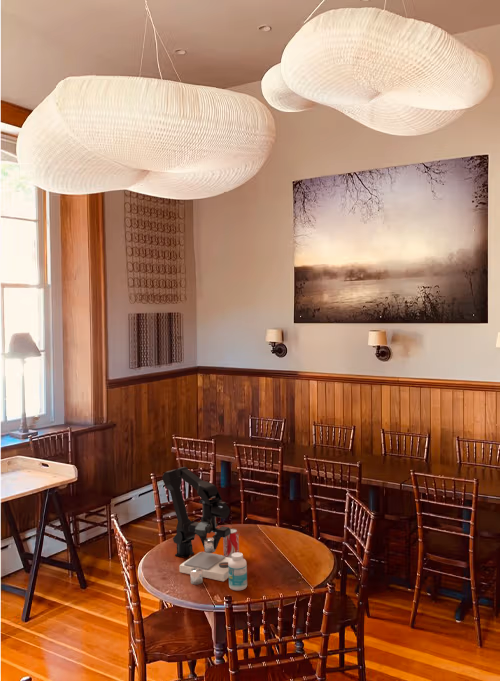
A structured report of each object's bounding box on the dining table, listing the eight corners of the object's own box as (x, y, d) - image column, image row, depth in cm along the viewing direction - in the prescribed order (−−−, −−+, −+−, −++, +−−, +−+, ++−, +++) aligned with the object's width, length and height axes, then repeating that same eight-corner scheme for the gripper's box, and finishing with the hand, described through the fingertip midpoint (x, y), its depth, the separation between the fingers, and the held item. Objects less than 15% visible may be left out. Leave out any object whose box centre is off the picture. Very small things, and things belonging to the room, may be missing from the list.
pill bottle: (228, 583, 251) (227, 551, 250) (246, 582, 251) (245, 550, 251) (229, 591, 243) (228, 558, 243) (247, 590, 244) (247, 557, 243)
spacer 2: (202, 551, 269) (201, 540, 269) (208, 547, 274) (207, 536, 273) (211, 553, 267) (211, 542, 267) (217, 549, 271) (217, 538, 271)
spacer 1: (188, 583, 252) (187, 571, 252) (194, 578, 256) (194, 566, 256) (198, 585, 250) (198, 573, 250) (205, 580, 254) (204, 568, 254)
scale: (179, 572, 263) (179, 563, 263) (199, 558, 277) (199, 550, 277) (223, 581, 253) (223, 572, 253) (242, 566, 267) (241, 558, 267)
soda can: (237, 560, 275) (236, 533, 274) (221, 559, 276) (221, 533, 275) (240, 553, 281) (239, 528, 281) (225, 553, 283) (224, 527, 282)
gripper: (181, 516, 267) (182, 551, 267) (217, 522, 258) (218, 558, 259) (195, 508, 277) (196, 542, 277) (230, 514, 268) (231, 549, 269)
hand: (210, 548), depth 270 cm, fingers closed on spacer 2, 5 cm apart
